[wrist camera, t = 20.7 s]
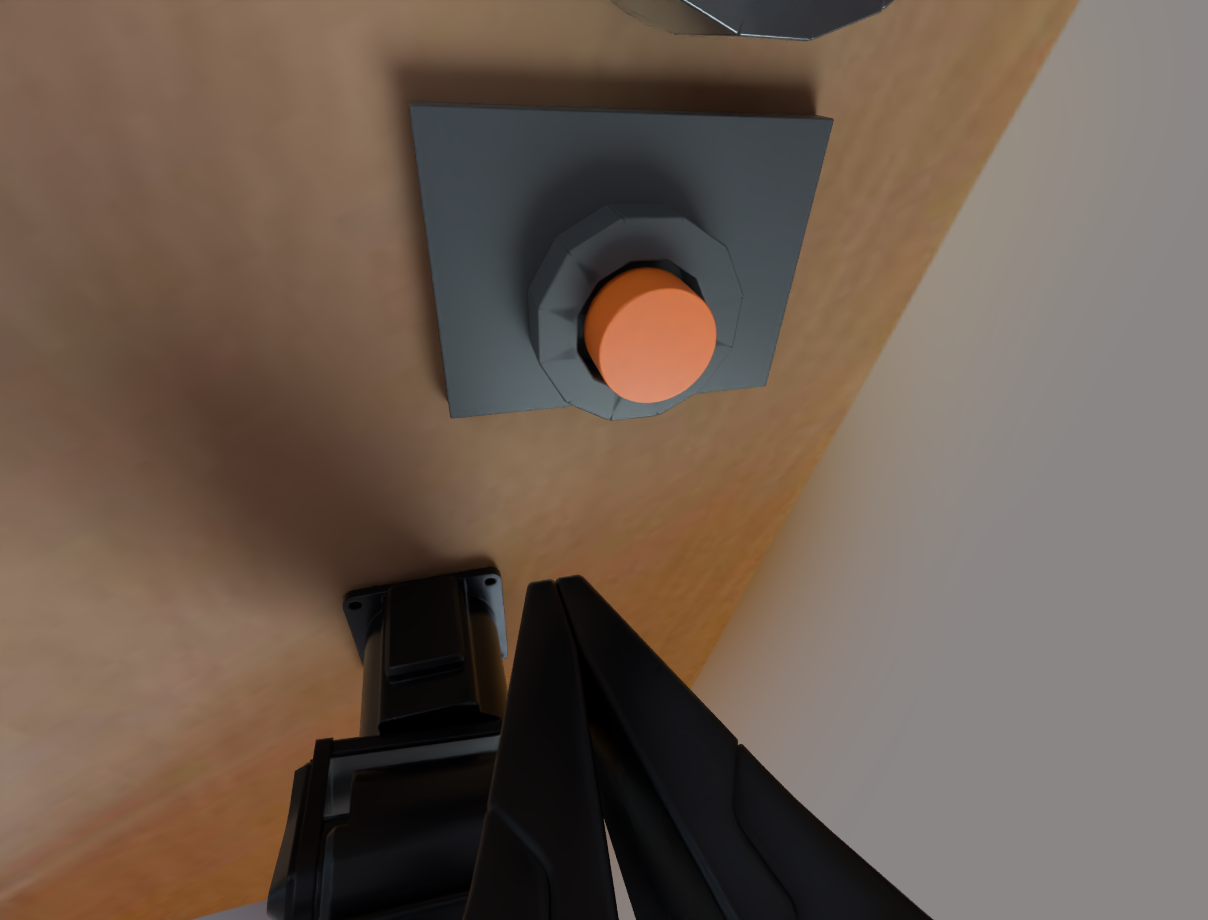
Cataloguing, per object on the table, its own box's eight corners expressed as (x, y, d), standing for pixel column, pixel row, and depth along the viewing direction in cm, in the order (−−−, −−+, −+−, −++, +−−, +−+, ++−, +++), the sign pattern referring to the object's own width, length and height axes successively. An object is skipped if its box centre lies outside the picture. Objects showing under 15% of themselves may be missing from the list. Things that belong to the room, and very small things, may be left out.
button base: (754, 375, 23) (787, 407, 21) (448, 405, 20) (453, 446, 18) (817, 114, 17) (869, 125, 15) (408, 101, 14) (409, 112, 12)
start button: (685, 371, 19) (706, 397, 18) (581, 381, 18) (595, 409, 17) (701, 264, 17) (727, 284, 15) (585, 268, 16) (601, 290, 14)
